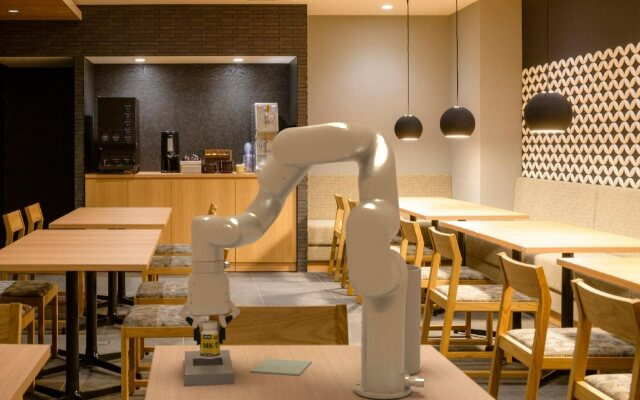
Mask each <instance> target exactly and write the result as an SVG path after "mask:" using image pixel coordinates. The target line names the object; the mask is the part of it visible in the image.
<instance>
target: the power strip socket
mask: <svg viewBox="0 0 640 400" xmlns="http://www.w3.org/2000/svg"><path fill="white" fill-rule="evenodd" d="M231 359H232V358H231V353H230V349H220V356H219V357H218V358H214V359H203V358H201V357H200V350H187V351H186V350H185V351H184V387H189V386H191V387H192V386H209V385H210V386H212V385H213V386H216V385H234V383H235V382H234V381H235V380H234V379H235V376H234V375H235V374H234V368H233V363H232V360H231Z"/></svg>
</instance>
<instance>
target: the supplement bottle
mask: <svg viewBox="0 0 640 400" xmlns="http://www.w3.org/2000/svg"><path fill="white" fill-rule="evenodd" d="M200 328H201V329H200V345H199V351H200V357H201V358H203V359H214V358H218V357H219V356H220V350H221V344H220V329H219V322H218V321H217V320H204V321H201V322H200Z"/></svg>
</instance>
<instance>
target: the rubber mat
mask: <svg viewBox="0 0 640 400" xmlns="http://www.w3.org/2000/svg"><path fill="white" fill-rule="evenodd" d="M310 365H312V361H311V360H310V361H309V360H296V359H295V360H294V359H277V358H264V359H263V360H262V361H260V362H259V363H258V364H256V365H255V366H254V367H253V368H252V369H251V370H250V373H254V374H268V375H270V374H271V375H282V376H283V375H284V376H296V377H297V376H298V377H299V376H301V375H302V374H303V373H304V371H306V369H308V367H309V366H310Z"/></svg>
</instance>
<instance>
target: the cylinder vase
mask: <svg viewBox="0 0 640 400" xmlns="http://www.w3.org/2000/svg"><path fill="white" fill-rule="evenodd" d="M407 269H408V282H407V291H406V302H405V345H404V369H407V375H410V376H414V375H416V374H417V373H418V372H419V371H420V369H421V333H422V330H421V325H422V322H421V320H422V318H421V317H422V267H420V266H418V265H413V264H407Z"/></svg>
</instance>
